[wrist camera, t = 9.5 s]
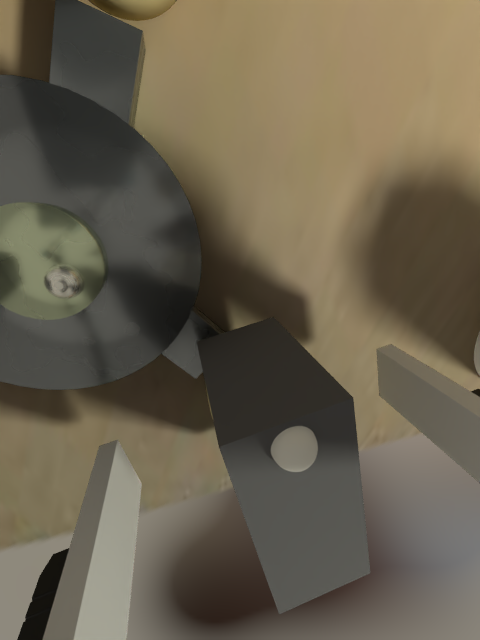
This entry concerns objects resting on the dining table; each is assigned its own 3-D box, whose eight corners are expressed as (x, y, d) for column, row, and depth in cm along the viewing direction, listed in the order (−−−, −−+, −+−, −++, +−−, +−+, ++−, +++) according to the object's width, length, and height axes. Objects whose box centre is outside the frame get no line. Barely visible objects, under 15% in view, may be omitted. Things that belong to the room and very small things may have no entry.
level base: (-285, 75, 8) (-798, -78, 4) (132, 5, 10) (102, -164, 5) (-10, 433, 14) (-93, 537, 9) (232, 354, 15) (257, 411, 11)
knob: (225, 446, 17) (272, 643, 9) (183, 327, 14) (203, 474, 6) (293, 420, 18) (393, 587, 10) (268, 301, 15) (385, 406, 7)
